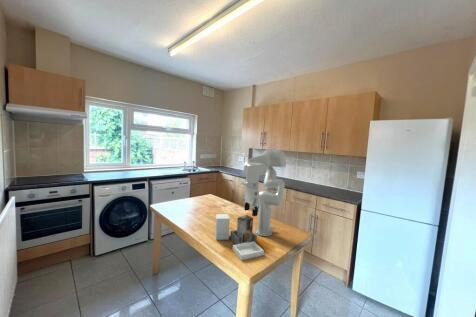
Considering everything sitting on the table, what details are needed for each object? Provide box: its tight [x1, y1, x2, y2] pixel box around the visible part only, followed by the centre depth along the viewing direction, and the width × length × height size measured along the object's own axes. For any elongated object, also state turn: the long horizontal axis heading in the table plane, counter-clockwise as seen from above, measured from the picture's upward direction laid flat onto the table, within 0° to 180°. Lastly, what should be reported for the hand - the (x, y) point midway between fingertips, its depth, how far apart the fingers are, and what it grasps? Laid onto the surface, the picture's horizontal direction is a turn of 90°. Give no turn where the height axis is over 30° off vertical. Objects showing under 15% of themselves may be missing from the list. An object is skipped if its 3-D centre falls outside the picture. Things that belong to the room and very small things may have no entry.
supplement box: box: [214, 213, 230, 241], centre depth 136 cm, size 9×9×15 cm
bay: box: [229, 229, 258, 245], centre depth 133 cm, size 14×12×5 cm
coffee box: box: [236, 214, 254, 244], centre depth 133 cm, size 9×6×16 cm
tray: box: [232, 241, 265, 261], centre depth 118 cm, size 15×12×3 cm
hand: (250, 212), depth 117 cm, fingers open, 9 cm apart
